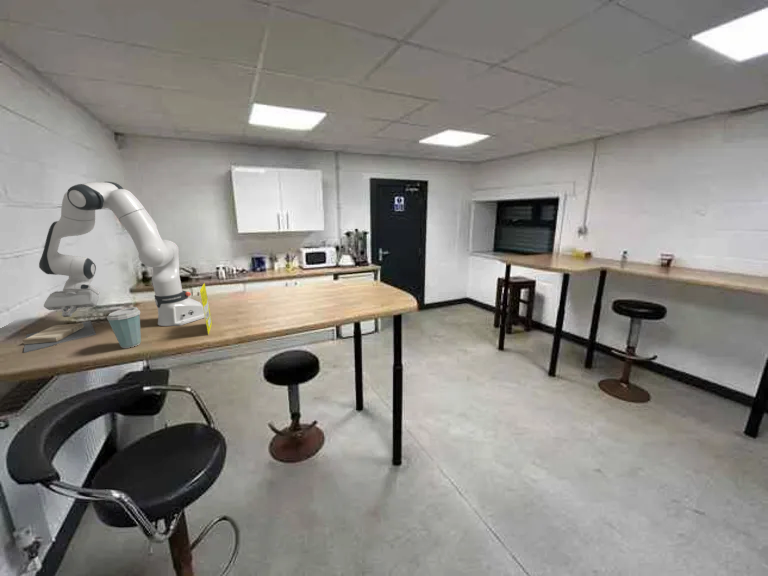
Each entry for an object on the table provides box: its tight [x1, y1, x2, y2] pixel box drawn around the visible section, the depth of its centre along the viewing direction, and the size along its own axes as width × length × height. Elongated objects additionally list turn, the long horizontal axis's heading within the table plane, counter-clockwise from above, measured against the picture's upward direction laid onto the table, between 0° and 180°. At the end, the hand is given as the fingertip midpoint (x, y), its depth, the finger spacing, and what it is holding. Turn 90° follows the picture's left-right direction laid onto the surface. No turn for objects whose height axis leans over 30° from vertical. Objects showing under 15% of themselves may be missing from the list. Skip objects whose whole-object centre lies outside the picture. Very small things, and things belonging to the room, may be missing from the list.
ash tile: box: [22, 322, 84, 345], centre depth 143 cm, size 2×12×16 cm
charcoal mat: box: [23, 320, 97, 353], centre depth 145 cm, size 22×26×1 cm
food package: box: [199, 282, 213, 336], centre depth 144 cm, size 15×1×20 cm, turn 22°
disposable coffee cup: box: [106, 306, 142, 349], centre depth 131 cm, size 11×11×15 cm
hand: (66, 316), depth 149 cm, fingers closed
